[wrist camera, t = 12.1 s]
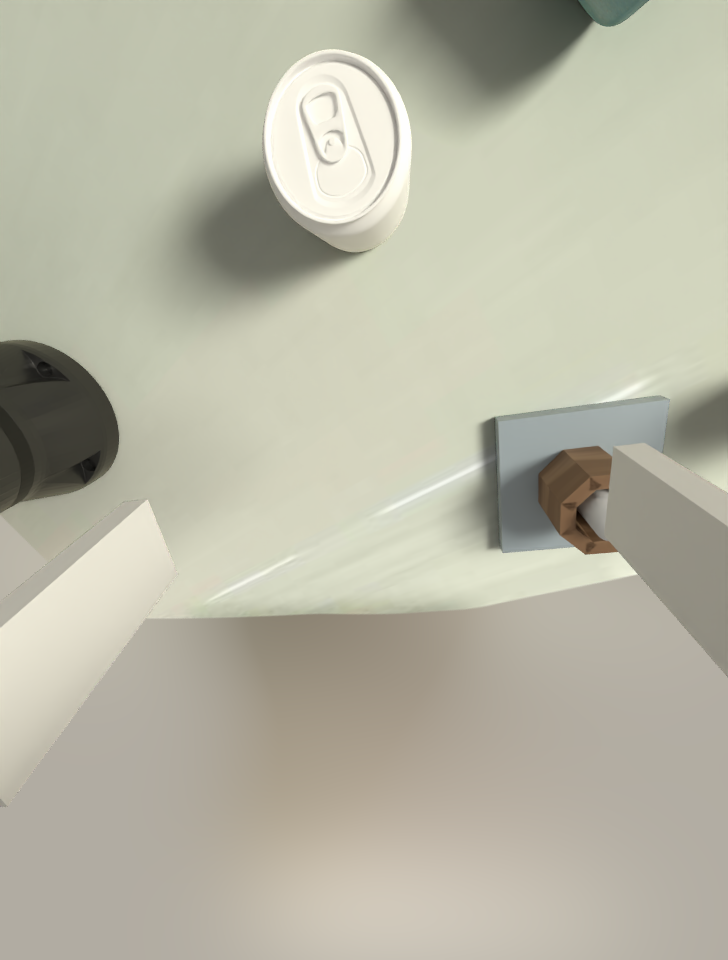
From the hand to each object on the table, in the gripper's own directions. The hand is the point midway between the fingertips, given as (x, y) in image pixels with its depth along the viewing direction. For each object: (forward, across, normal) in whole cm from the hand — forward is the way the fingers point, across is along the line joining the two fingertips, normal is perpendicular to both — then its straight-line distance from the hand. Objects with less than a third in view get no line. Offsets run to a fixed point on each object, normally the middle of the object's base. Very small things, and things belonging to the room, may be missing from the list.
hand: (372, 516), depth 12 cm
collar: (+26, +17, -13) cm, 33 cm away
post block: (+27, +17, -13) cm, 34 cm away
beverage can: (+28, 0, +13) cm, 31 cm away
